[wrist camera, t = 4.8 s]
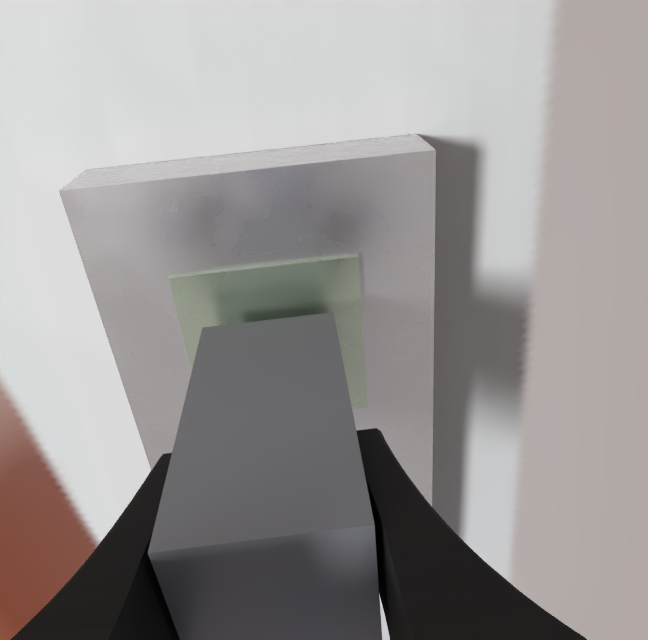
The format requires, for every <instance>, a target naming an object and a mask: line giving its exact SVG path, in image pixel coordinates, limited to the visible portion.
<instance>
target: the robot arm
mask: <svg viewBox="0 0 648 640" xmlns="http://www.w3.org/2000/svg"><path fill="white" fill-rule="evenodd" d="M356 431H357V437H358V442H359V447H360V452H361V457H362V462H363V468H364V473H365V478H366V483H367V488H368V493H369V498H370V504H371V509H372V514H373V519H374V524H375V539H376V554H377V569H378V585H379V594H380V597H381V601H382V605H383V609H384V613H385V617H386V621H387V626H388V631H389V635H390V640H587V639H586V638H584V637H583V636H581V635H580V634H578V633H577V632H575V631H574V630H572V629H571V628H569V627H568V626H567V625H565V624H563V623H562V622H561V621H559V620H558V619H556V618H555V617H554V616H552V615H551V614H549V613H548V612H546V611H545V610H544V609H542V608H541V607H540V606H538V605H537V604H536V603H534V602H533V601H532V600H530V599H529V598H528V597H526V596H525V595H524V594H523V593H521V592H520V591H519V590H517V589H516V588H515V587H514V586H513V585H512V584H510V583H509V582H508V581H507V580H506V579H504V578H503V577H502V576H501V575H500V574H499V573H497V572H496V571H495V570H494V569H493V568H491V567H490V566H489V565H488V564H487V563H486V562H485V561H483V560H482V559H481V558H480V557H479V556H478V555H477V554H476V553H475V552H474V551H473V550H472V549H471V548H470V547H469V546H468V545H467V544H466V543H465V542H464V541H463V540H462V539H461V538H460V537H459V536H458V535H457V534H456V533H455V532H454V531H453V530H452V529H451V528H450V527H449V526H448V525H447V524H446V522H445V521H444V520H443V519H442V518H441V517H440V516H439V514H438V513H437V512H436V511H435V510H434V509H433V507H432V506H431V505H430V504H429V503H428V501H427V500H426V499H425V498H424V496H423V495H422V494H421V493H420V491H419V490H418V489H417V487H416V486H415V485H414V483H413V482H412V481H411V479H410V478H409V476H408V475H407V474H406V472H405V471H404V469H403V468H402V466H401V465H400V463H399V462H398V460H397V459H396V457H395V456H394V454H393V452H392V451H391V449H390V447H389V446H388V444H387V442H386V440H385V438H384V436H383V434H382V432H381V431H380V430H379V429H377V428H373V429H364V430H356ZM171 455H172V453H166V454H163V455H162V456H161V457H160V458H159V460H158V461H157V463H156V464H155V466H154V467H153V469H152V470H151V472H150V474H149V475H148V477H147V478H146V480H145V481H144V483H143V484H142V486H141V487H140V489H139V490H138V492H137V493H136V495H135V496H134V498H133V499H132V501H131V502H130V503H129V505H128V506H127V508H126V509H125V510H124V512H123V513H122V515H121V516H120V517H119V519H118V520H117V522H116V523H115V524H114V526H113V527H112V529H111V530H110V531H109V532H108V534H107V535H106V536H105V538H104V539H103V540H102V541H101V543H100V544H99V545H98V547H97V548H96V549H95V550H94V552H93V553H92V554H91V555H90V557H89V558H88V559H87V560H86V562H85V563H84V564H83V565H82V566H81V567H80V569H79V570H78V571H77V572H76V574H74V576H73V577H72V578H71V579H70V580H69V581H68V582H67V583H66V585H65V586H64V587H63V588H62V589H61V590H60V591H59V592H58V593H57V594H56V596H55V597H54V598H53V599H52V600H51V601H50V602H49V603H48V604H47V605H46V606H45V607H44V608H43V609H42V610H41V611H40V612H39V613H38V614H37V615H36V616H35V617H34V618H33V619H32V620H31V621H30V622H29V623H27V625H26V626H25V627H23V628H22V629H21V630H20V631H19V632H18V633H17V634H16V635H15V636H14V637H13V638H12V639H11V640H180V638H179V636H178V633H177V630H176V628H175V625H174V622H173V620H172V617H171V614H170V611H169V609H168V606H167V603H166V601H165V598H164V595H163V593H162V590H161V587H160V585H159V582H158V579H157V577H156V574H155V571H154V569H153V566H152V563H151V561H150V558H149V555H148V550H149V546H150V542H151V537H152V533H153V529H154V525H155V521H156V517H157V513H158V509H159V504H160V500H161V496H162V492H163V488H164V484H165V480H166V476H167V471H168V467H169V463H170V459H171Z"/></svg>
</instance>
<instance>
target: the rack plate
mask: <svg viewBox="0 0 648 640" xmlns="http://www.w3.org/2000/svg"><path fill="white" fill-rule="evenodd" d="M59 192H60V195H61V198H62V201H63V205H64V208H65V211H66V214H67V217H68V220H69V223H70V226H71V229H72V232H73V235H74V238H75V241H76V244H77V247H78V250H79V253H80V256H81V259H82V262H83V265H84V268H85V271H86V274H87V277H88V280H89V283H90V286H91V289H92V292H93V295H94V298H95V301H96V304H97V307H98V310H99V313H100V316H101V319H102V322H103V325H104V328H105V331H106V334H107V337H108V340H109V343H110V346H111V349H112V352H113V355H114V358H115V361H116V364H117V367H118V370H119V374H120V377H121V380H122V383H123V386H124V389H125V392H126V395H127V398H128V401H129V404H130V407H131V410H132V413H133V416H134V419H135V422H136V425H137V428H138V431H139V434H140V437H141V440H142V443H143V446H144V449H145V452H146V455H147V458H148V461H149V464H150V467H151V470H152V469H153V467H154V466H155V464H156V463H157V461H158V460H159V458H160V457H161V456H162V455H163V454H166V453H172V451H173V447H174V443H175V438H176V434H177V430H178V426H179V422H180V418H181V414H182V410H183V405H184V401H185V397H186V393H187V389H188V385H189V381H190V377H191V372H192V368H193V364H194V360H195V356H196V352H197V348H198V344H199V339H200V335H201V331H202V327H211V326H220V325H228V324H237V323H246V322H254V321H263V320H272V319H280V318H289V317H298V316H306V315H315V314H323V313H332V312H333V313H334V318H335V323H336V328H337V334H338V339H339V344H340V349H341V354H342V359H343V364H344V370H345V375H346V380H347V385H348V390H349V395H350V401H351V406H352V411H353V416H354V421H355V426H356V430H364V429H373V428H377V429H379V430H380V431H381V432H382V434H383V436H384V438H385V440H386V442H387V444H388V446H389V447H390V449H391V451H392V452H393V454H394V456H395V457H396V459H397V460H398V462H399V463H400V465H401V466H402V468H403V469H404V471H405V472H406V474H407V475H408V476H409V478H410V479H411V481H412V482H413V483H414V485H415V486H416V487H417V489H418V490H419V491H420V493H421V494H422V495H423V496H424V498H425V499H426V500H427V501H428V503H429V504H430V505H431V506H432V483H433V389H434V294H435V199H436V149H434V148H433V147H432V146H431V145H430V144H428V143H427V142H426V141H425V140H423V139H422V138H421V137H420V136H418V135H417V134H414V135H404V136H395V137H386V138H377V139H367V140H358V141H349V142H340V143H331V144H321V145H312V146H303V147H294V148H284V149H275V150H266V151H257V152H247V153H238V154H229V155H220V156H210V157H201V158H192V159H183V160H174V161H164V162H155V163H146V164H137V165H127V166H118V167H109V168H100V169H90V170H85V171H84V172H82V173H81V174H80V175H79V176H77V177H76V178H75V179H73V180H72V181H71V182H70V183H68V184H67V185H66V186H65V187H63V188H62V189H61V190H59Z"/></svg>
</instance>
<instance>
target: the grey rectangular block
mask: <svg viewBox="0 0 648 640" xmlns="http://www.w3.org/2000/svg"><path fill="white" fill-rule="evenodd" d="M148 555H149V558H150V561H151V563H152V566H153V569H154V571H155V574H156V577H157V579H158V582H159V585H160V587H161V590H162V593H163V595H164V598H165V601H166V603H167V606H168V609H169V611H170V614H171V617H172V620H173V622H174V625H175V628H176V630H177V633H178V636H179V638H180V640H382V631H381V616H380V600H379V585H378V569H377V554H376V539H375V524H374V519H373V514H372V509H371V504H370V498H369V493H368V488H367V483H366V478H365V473H364V468H363V462H362V457H361V452H360V447H359V442H358V437H357V431H356V426H355V421H354V416H353V411H352V406H351V401H350V395H349V390H348V385H347V380H346V375H345V370H344V364H343V359H342V354H341V349H340V344H339V339H338V334H337V328H336V323H335V318H334V313H333V312H332V313H323V314H315V315H306V316H298V317H289V318H280V319H272V320H263V321H254V322H246V323H237V324H228V325H220V326H211V327H202V331H201V335H200V339H199V344H198V348H197V352H196V356H195V360H194V364H193V368H192V372H191V377H190V381H189V385H188V389H187V393H186V397H185V401H184V405H183V410H182V414H181V418H180V422H179V426H178V430H177V434H176V438H175V443H174V447H173V451H172V455H171V459H170V463H169V467H168V471H167V476H166V480H165V484H164V488H163V492H162V496H161V500H160V504H159V509H158V513H157V517H156V521H155V525H154V529H153V533H152V537H151V542H150V546H149V550H148Z"/></svg>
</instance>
